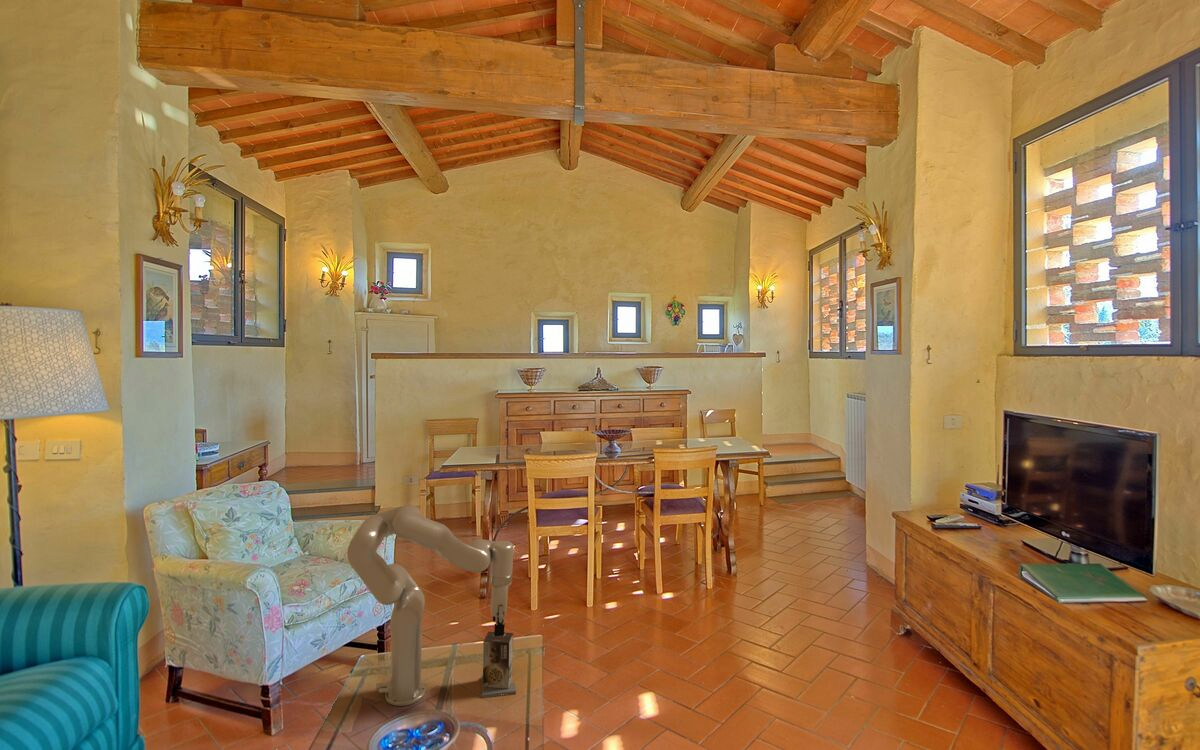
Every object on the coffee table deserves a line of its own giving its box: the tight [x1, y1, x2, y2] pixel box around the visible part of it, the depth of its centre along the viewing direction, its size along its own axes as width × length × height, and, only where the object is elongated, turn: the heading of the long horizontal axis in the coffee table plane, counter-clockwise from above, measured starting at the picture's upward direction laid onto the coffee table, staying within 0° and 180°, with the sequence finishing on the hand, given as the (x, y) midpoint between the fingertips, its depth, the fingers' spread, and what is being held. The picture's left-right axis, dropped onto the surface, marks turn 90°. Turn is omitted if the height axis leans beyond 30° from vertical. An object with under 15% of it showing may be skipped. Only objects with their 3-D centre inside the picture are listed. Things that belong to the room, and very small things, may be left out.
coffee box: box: [482, 631, 514, 688], centre depth 186 cm, size 9×6×16 cm
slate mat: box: [480, 674, 517, 699], centre depth 186 cm, size 11×11×1 cm
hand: (498, 628), depth 185 cm, fingers open, 9 cm apart
